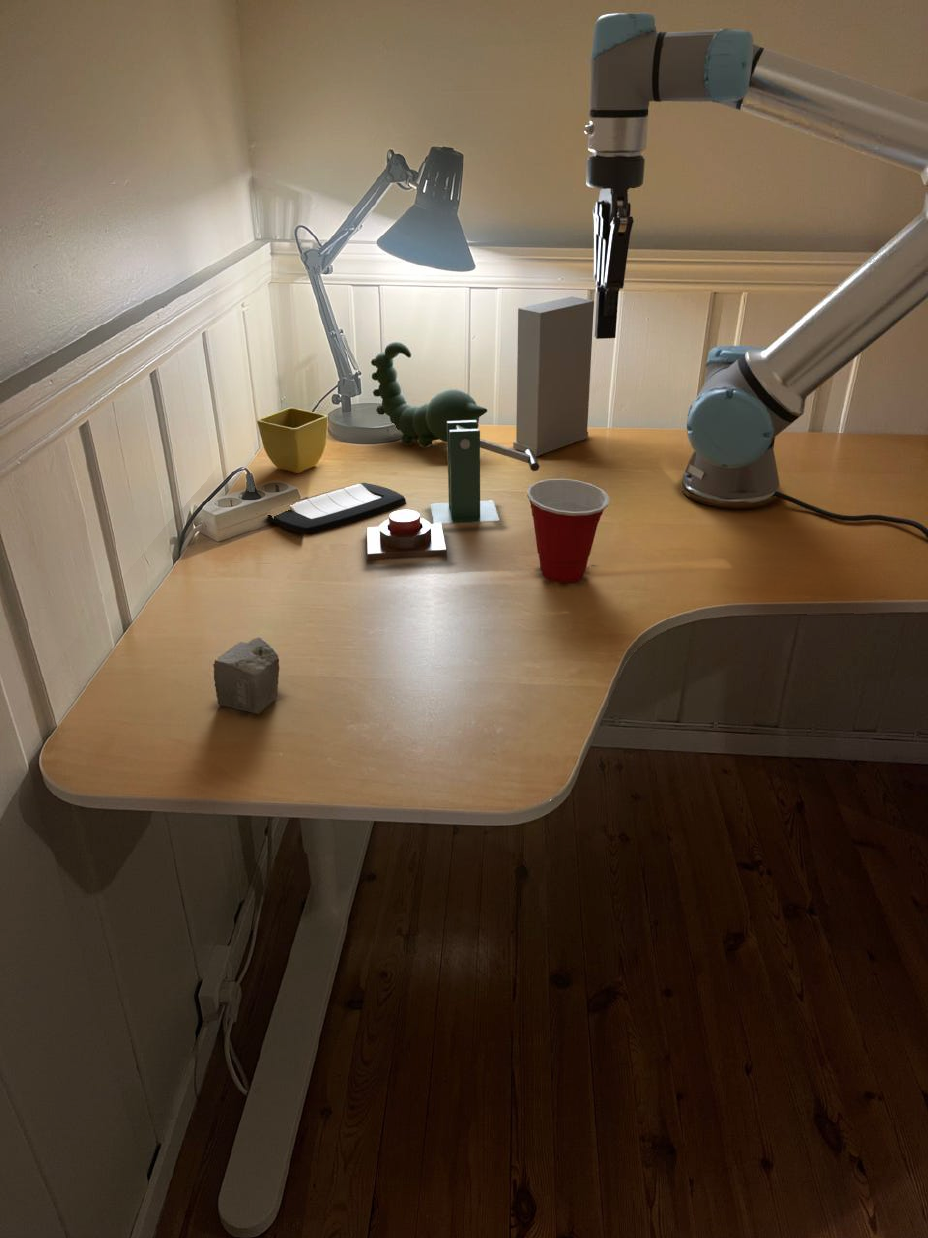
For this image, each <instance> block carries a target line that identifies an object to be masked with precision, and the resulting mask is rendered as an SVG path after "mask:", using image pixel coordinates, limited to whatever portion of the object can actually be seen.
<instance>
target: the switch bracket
mask: <svg viewBox="0 0 928 1238" xmlns="http://www.w3.org/2000/svg"><path fill="white" fill-rule="evenodd" d="M456 425H458V426H461V427H464V428H467V429H460V430H455V428H456ZM480 439H481V430H480V428H478V429H477V421H476V420H464V421H447V442H446V445H447V449H446V451H447V490H448V493H447V494H448V502H432V503H431V502H430V504H429V505H430V510H431V517H432V522H433V524H440V523H441V524H442V525H445V524H447V525H448V524H465V523H483V522H484V523H485V522H486V523H487V522H500V520H501V519H500V517H499V513H498V510H497V507H496V505H495V501H494V500H493V499H489V500H481V448H480Z"/></svg>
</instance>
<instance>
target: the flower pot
mask: <svg viewBox="0 0 928 1238" xmlns="http://www.w3.org/2000/svg"><path fill="white" fill-rule="evenodd" d="M256 423H257V426H258V431H259V435H260V439H261V443H262V446H263V450H264V452H265V453H266V455H267V457H268V459H269V460H270V461H271V463H272V464H273V465H274V466H275V467H276V468H277V469H279V470H284V471H288V472H290V473H295V474H301V473H302V472H305V471H307V470H309V469H311V468H313V467H315V466H317V465H318V463H319V462H320V460H321V458H322V456H323V454H324V451H325V448H326V443H327V432H328V431H327V429H328V415H327V414H323V413H319V412H314V411H309V410H306V409H300V408H296V407H287V408H285V409H281V410H279V411H277V412H274V413H272V414H269V415H265V416H264V417H261V418H258V419H257V420H256Z"/></svg>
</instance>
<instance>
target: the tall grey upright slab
mask: <svg viewBox="0 0 928 1238" xmlns="http://www.w3.org/2000/svg"><path fill="white" fill-rule="evenodd" d="M594 311H595V300H593V299H592V300H591V299H587V298H583V297H582V298H581V297H575V296H568V297H564V298H559V299H554V300H551V301H546V302H541V303H536V304H532V305H527V306H522V307H518V308H517V362H516V363H517V365H516V366H517V367H516V428H515V429H516V430H515V431H516V432H515V433H516V437H515V438H516V439H515V441H513V442H512V443H513V444H512V447H513V448H512V449H514V450H516V451H520V452H523V453H525V451H526V450H527V449H531V450H532V451H533V453H534V455H535V457H539V456H540V455H544V454H546V453H549V452H552V451H554V450H557V449H560V448H563V447H565V446H569V445H571V444H574V443H577V442H580V441H585V439H589V431H588V423H589V406H590V386H591V385H590V384H591V370H592V369H591V366H592V350H593V349H592V347H593V331H594V330H593V329H594Z"/></svg>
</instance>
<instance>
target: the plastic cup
mask: <svg viewBox="0 0 928 1238" xmlns="http://www.w3.org/2000/svg"><path fill="white" fill-rule="evenodd" d="M526 496H527V498H528V500H529V503H530V508H531V516H532V519H533V528H534V534H535V541H536V550H537V554H538V559H539V567H540V571H541V574H542V575H541V576H542V577H543V578H544V579H546V580H548V581H549V582H553V583H557V584H572V583H575V582H578V581H580V580H582V578H584V575H585V573H586V569H587V565H588V561H589V557H590V555H591V551H592V548H593V544H594V540H595V537H596V533H597V529H598V525H599V523H600V520H601V516H603V513H604V511H605V509H606V508H607V507H608V506H609V504H610V496H609V495H608V493H607V492H606V491H605V490H603V489H602V488H600V487H598V486H596V485H594V484H593V483H589V482H585V481H581V480H578V479H569V478H547V479H543V480H539V481H536V482H534V483H532V484H531V485H529V486H528V489H527V492H526Z"/></svg>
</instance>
